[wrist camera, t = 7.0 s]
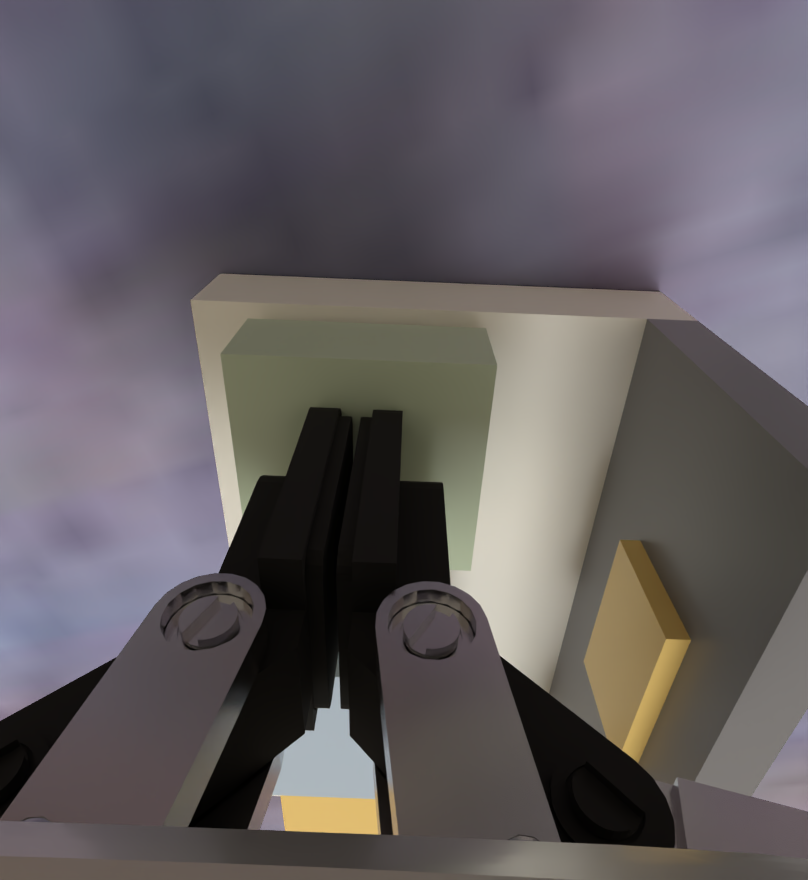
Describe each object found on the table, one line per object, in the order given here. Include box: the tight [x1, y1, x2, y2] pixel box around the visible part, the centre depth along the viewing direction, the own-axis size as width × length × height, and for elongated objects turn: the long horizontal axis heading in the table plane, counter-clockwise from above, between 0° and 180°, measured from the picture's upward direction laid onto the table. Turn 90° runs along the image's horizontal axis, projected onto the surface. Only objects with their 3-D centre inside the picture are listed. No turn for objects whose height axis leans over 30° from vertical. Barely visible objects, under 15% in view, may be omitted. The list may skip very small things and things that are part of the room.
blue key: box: [272, 652, 375, 799], centre depth 14 cm, size 5×5×2 cm
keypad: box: [190, 274, 808, 796], centre depth 14 cm, size 18×10×8 cm, turn 178°
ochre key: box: [280, 795, 378, 834], centre depth 18 cm, size 5×5×2 cm
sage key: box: [220, 318, 497, 571], centre depth 11 cm, size 5×5×2 cm
